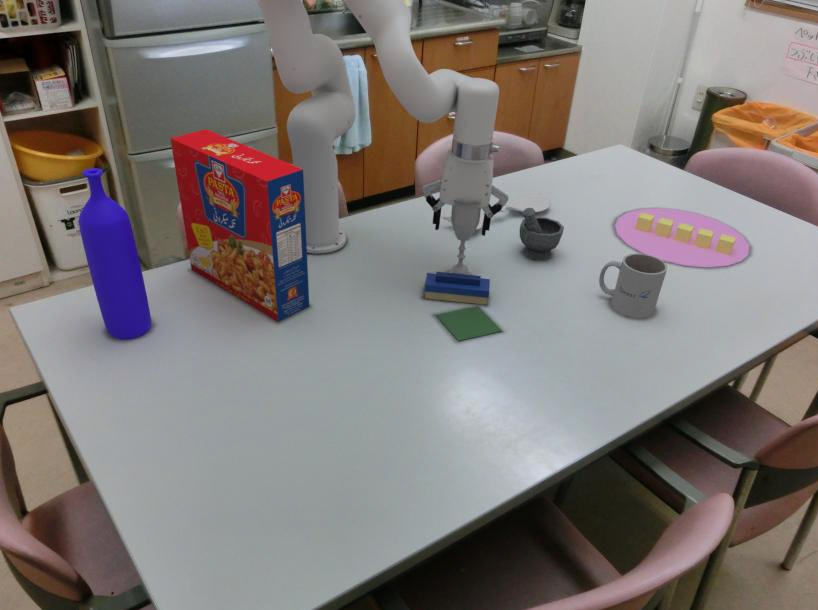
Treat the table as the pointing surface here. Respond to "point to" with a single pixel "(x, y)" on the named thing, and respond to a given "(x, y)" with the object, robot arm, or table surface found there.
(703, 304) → the table surface
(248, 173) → the pasta box
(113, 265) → the bottle
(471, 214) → the chalice
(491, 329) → the green cloth
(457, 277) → the brush
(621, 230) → the platter
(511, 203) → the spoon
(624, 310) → the mug
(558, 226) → the mortar and pestle
